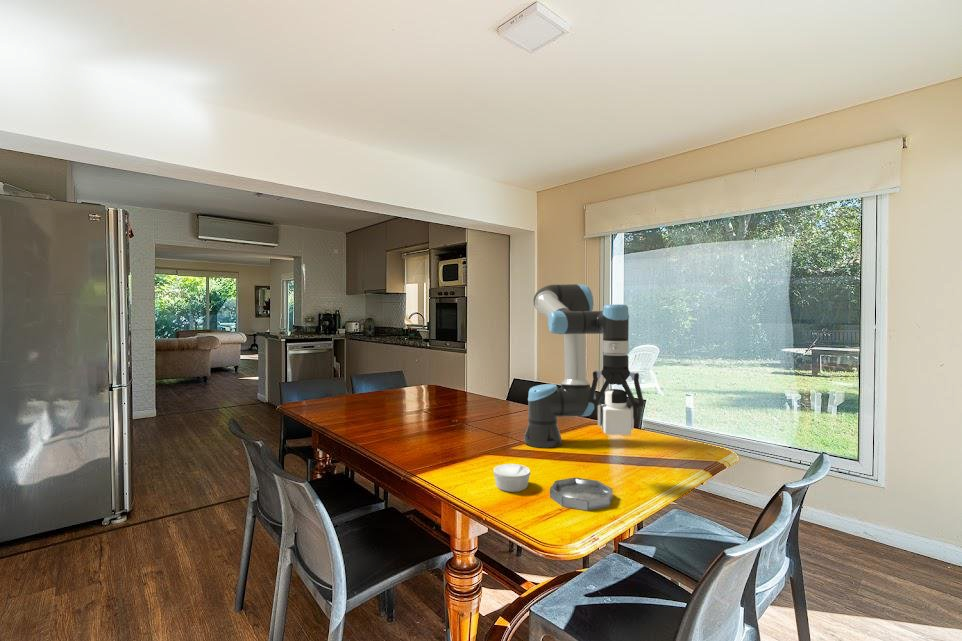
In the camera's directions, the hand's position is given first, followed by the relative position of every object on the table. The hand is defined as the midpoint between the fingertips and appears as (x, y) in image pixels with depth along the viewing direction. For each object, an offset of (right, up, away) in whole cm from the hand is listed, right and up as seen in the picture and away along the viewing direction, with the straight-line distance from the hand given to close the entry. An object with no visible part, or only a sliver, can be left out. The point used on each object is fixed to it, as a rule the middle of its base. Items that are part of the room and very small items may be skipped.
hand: (615, 426), depth 140 cm
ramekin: (-32, -18, -2) cm, 37 cm away
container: (0, -2, 0) cm, 2 cm away
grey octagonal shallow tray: (-13, -18, -11) cm, 24 cm away
